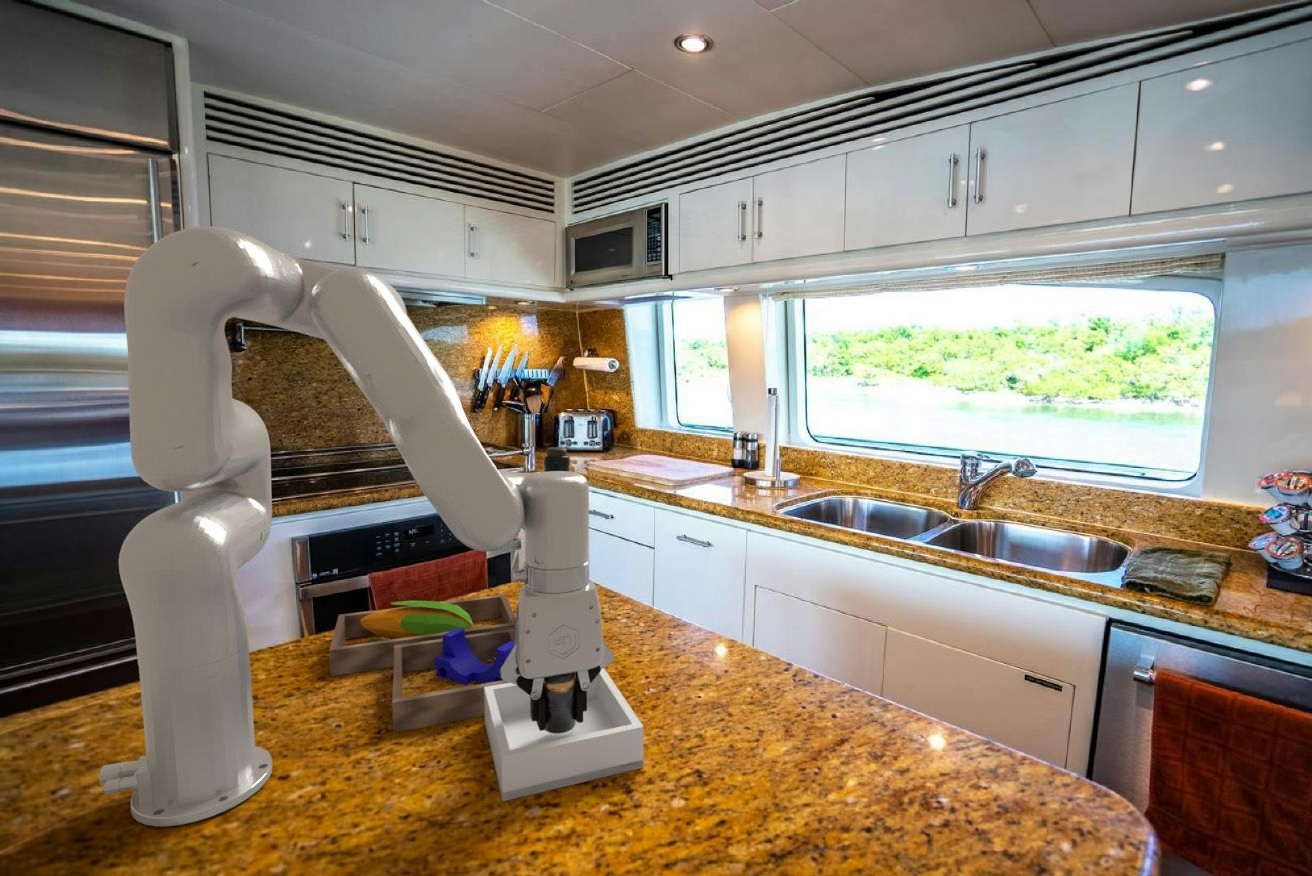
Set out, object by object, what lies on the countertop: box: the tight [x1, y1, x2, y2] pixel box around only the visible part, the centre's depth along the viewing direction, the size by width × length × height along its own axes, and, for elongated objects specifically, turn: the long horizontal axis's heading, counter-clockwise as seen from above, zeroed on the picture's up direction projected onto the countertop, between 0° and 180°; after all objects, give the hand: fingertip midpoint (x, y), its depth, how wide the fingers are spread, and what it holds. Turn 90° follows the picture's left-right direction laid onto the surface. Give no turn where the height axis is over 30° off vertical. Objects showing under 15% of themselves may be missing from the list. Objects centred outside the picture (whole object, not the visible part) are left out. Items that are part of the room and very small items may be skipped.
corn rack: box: [328, 594, 516, 677], centre depth 107 cm, size 28×15×4 cm, turn 112°
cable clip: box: [435, 628, 519, 686], centre depth 94 cm, size 12×4×6 cm, turn 63°
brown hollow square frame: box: [392, 629, 520, 734], centre depth 91 cm, size 18×18×4 cm
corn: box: [360, 600, 474, 643], centre depth 105 cm, size 7×8×20 cm
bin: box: [484, 668, 645, 802], centre depth 77 cm, size 16×16×5 cm
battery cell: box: [542, 672, 576, 733], centre depth 77 cm, size 4×4×8 cm
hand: (559, 719), depth 77 cm, fingers closed on battery cell, 4 cm apart
